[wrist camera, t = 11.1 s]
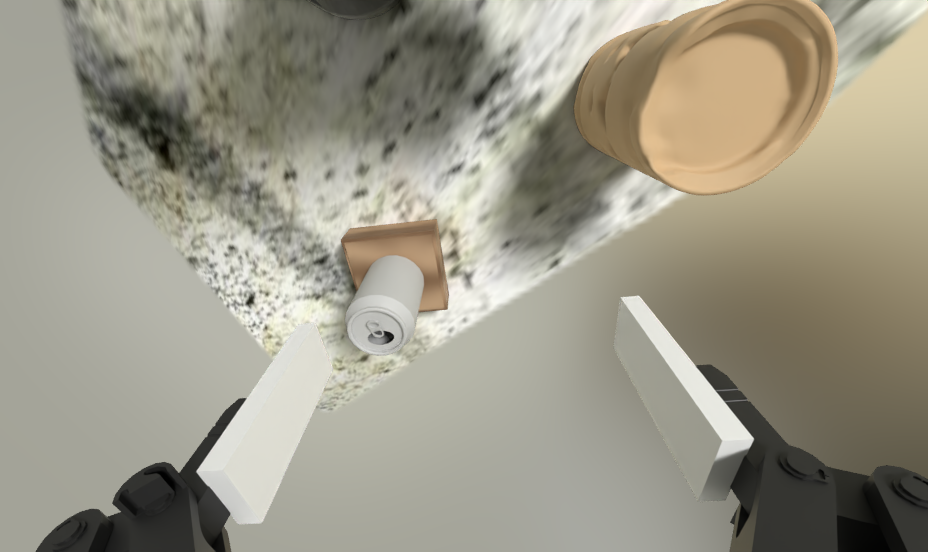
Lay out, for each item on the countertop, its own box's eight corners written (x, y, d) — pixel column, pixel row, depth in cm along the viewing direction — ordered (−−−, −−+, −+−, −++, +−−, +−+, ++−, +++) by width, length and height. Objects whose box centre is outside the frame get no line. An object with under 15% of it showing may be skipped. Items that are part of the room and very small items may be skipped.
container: (568, 157, 43) (627, 200, 27) (578, 34, 37) (661, -3, 21) (672, 150, 42) (793, 190, 27) (699, 25, 36) (877, -20, 21)
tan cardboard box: (349, 228, 48) (340, 240, 44) (436, 219, 47) (434, 230, 43) (371, 301, 53) (364, 318, 50) (448, 294, 53) (447, 310, 49)
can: (378, 305, 49) (354, 366, 38) (360, 257, 45) (328, 310, 34) (430, 296, 48) (420, 356, 37) (416, 247, 44) (401, 298, 34)
